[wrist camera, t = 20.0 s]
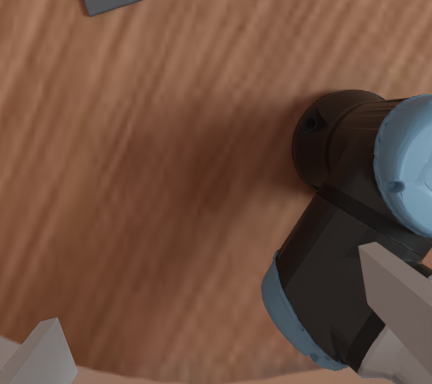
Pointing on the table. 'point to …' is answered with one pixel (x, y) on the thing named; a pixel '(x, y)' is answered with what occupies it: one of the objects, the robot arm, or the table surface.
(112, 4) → the mat
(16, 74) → the table surface
